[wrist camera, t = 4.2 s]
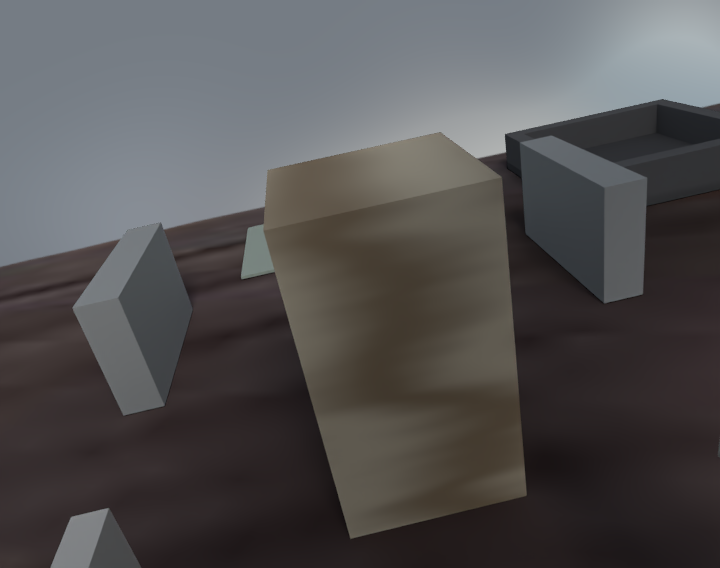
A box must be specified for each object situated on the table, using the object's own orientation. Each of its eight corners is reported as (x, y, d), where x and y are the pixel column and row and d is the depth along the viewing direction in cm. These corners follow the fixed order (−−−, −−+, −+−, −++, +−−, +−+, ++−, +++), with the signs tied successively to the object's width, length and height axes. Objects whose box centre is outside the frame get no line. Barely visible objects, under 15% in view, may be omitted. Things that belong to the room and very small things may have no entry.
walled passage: (555, 226, 37) (551, 135, 34) (642, 294, 28) (647, 177, 26) (162, 316, 36) (127, 229, 34) (123, 415, 27) (72, 308, 25)
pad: (432, 188, 49) (432, 186, 49) (467, 228, 40) (466, 225, 40) (248, 230, 48) (248, 227, 48) (241, 279, 39) (240, 276, 39)
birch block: (471, 389, 24) (440, 132, 19) (526, 495, 19) (501, 177, 14) (334, 421, 24) (267, 170, 19) (350, 538, 19) (263, 230, 14)
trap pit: (660, 133, 50) (662, 99, 49) (788, 173, 38) (794, 128, 36) (507, 168, 50) (504, 134, 48) (584, 220, 37) (583, 175, 36)
